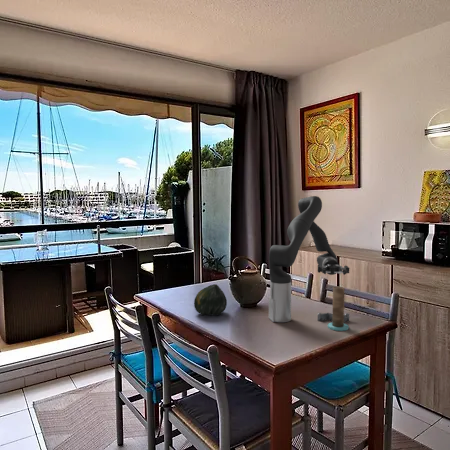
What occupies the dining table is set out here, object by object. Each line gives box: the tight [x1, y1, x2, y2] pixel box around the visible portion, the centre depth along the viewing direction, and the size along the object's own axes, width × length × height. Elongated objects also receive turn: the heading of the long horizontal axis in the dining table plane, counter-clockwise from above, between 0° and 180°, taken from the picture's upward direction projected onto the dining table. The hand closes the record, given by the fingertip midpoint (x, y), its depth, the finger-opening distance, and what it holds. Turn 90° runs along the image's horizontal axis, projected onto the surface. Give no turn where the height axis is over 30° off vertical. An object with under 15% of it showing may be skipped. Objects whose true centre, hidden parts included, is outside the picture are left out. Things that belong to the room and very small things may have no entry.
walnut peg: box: [331, 286, 345, 327], centre depth 161 cm, size 5×5×16 cm
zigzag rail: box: [317, 312, 350, 323], centre depth 170 cm, size 14×5×3 cm, turn 86°
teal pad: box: [327, 322, 349, 332], centre depth 161 cm, size 8×8×1 cm
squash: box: [193, 283, 228, 316], centre depth 180 cm, size 14×15×15 cm
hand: (334, 272), depth 174 cm, fingers open, 8 cm apart
